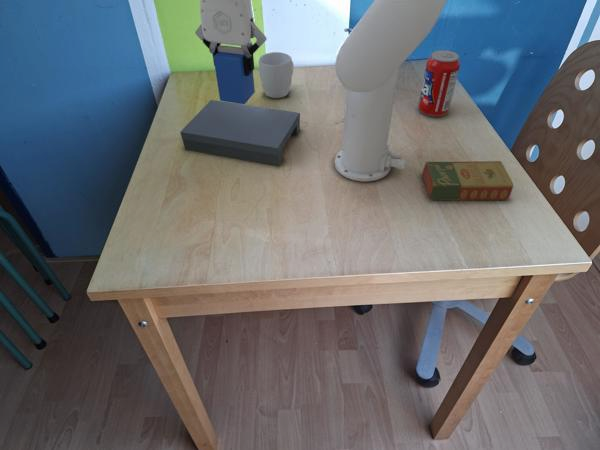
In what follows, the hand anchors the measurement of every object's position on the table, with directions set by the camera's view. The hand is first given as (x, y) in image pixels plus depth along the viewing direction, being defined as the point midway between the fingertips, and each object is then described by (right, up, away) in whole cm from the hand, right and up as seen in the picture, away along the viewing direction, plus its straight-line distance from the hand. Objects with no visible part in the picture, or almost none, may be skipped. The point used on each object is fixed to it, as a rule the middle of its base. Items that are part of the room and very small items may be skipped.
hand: (234, 70), depth 92 cm
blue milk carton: (0, -4, +4) cm, 6 cm away
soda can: (+50, -3, +21) cm, 54 cm away
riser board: (0, -13, +12) cm, 17 cm away
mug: (+9, +5, +31) cm, 32 cm away
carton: (+49, -26, -2) cm, 55 cm away
